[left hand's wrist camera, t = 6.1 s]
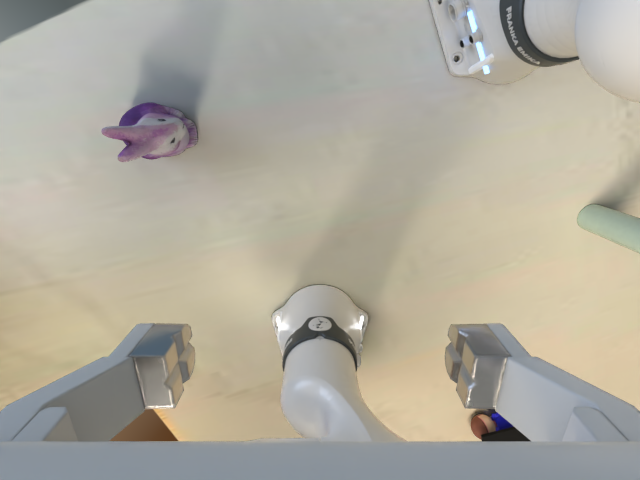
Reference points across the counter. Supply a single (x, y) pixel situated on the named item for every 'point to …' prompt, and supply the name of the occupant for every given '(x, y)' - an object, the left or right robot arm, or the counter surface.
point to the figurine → (153, 132)
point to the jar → (611, 225)
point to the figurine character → (495, 429)
